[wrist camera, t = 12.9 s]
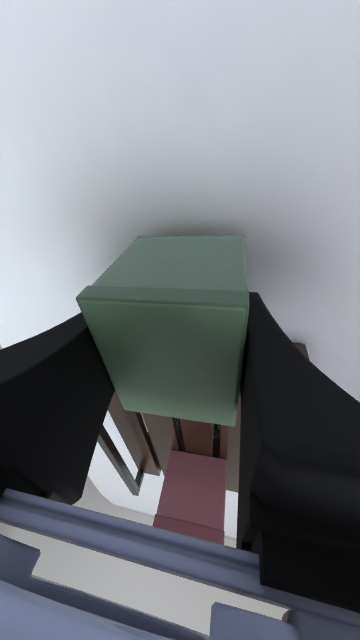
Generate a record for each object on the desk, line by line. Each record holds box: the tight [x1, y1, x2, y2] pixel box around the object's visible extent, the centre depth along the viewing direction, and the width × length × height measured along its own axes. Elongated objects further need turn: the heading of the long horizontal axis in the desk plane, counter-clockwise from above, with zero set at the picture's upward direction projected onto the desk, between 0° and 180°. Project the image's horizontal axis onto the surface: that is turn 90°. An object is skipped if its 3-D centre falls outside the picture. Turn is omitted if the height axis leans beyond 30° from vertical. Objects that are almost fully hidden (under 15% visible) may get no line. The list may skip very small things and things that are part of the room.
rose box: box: [153, 450, 227, 545], centre depth 18 cm, size 5×6×5 cm
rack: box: [97, 344, 310, 496], centre depth 19 cm, size 13×16×6 cm
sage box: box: [76, 235, 249, 426], centre depth 9 cm, size 5×6×5 cm
